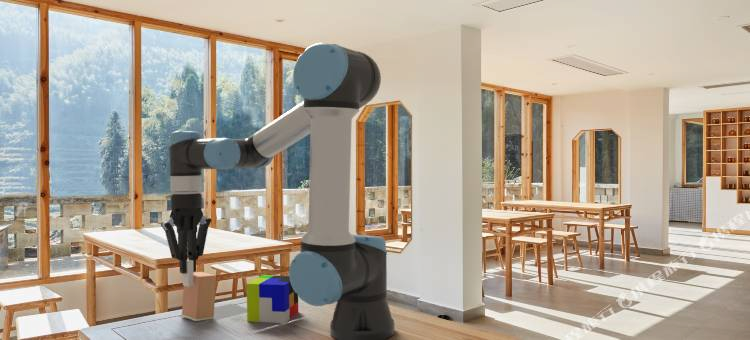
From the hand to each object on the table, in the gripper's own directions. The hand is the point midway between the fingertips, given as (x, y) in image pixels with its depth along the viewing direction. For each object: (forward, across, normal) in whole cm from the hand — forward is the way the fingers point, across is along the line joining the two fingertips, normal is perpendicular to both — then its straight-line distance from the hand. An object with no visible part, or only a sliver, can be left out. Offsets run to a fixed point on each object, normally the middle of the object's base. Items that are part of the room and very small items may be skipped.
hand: (188, 285), depth 141 cm
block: (+9, -2, 0) cm, 9 cm away
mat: (+9, -8, 0) cm, 12 cm away
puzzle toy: (+10, -16, +14) cm, 23 cm away
